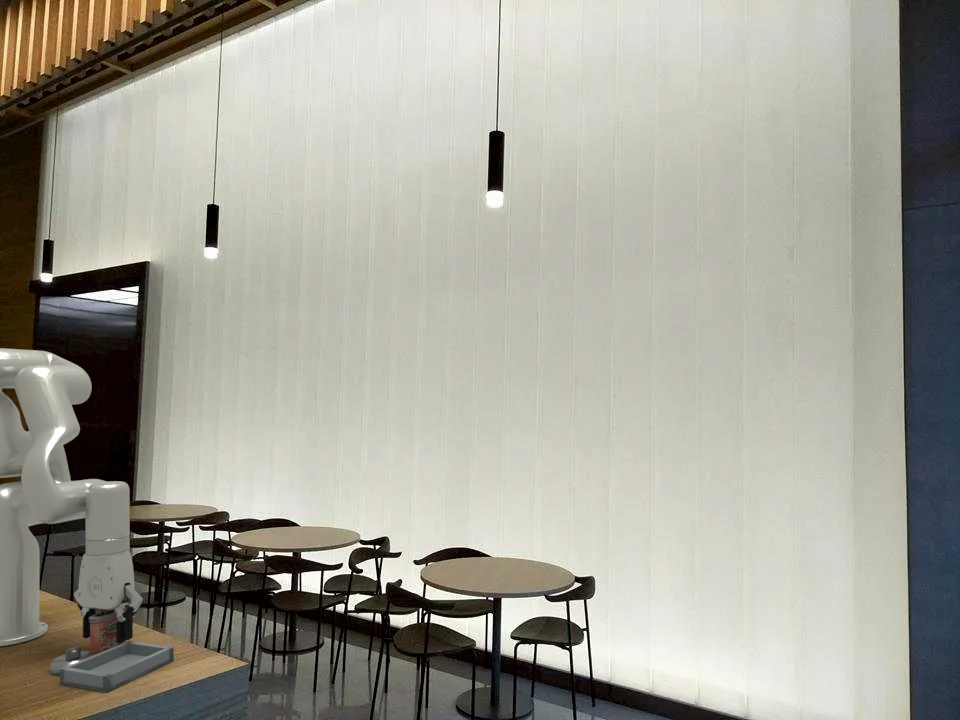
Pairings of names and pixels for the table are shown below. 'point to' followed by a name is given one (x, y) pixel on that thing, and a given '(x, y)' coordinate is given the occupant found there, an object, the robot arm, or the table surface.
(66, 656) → the pot lid
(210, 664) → the table surface
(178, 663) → the table surface
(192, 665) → the table surface
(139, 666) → the tray
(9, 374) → the robot arm
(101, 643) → the lighter
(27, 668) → the table surface
